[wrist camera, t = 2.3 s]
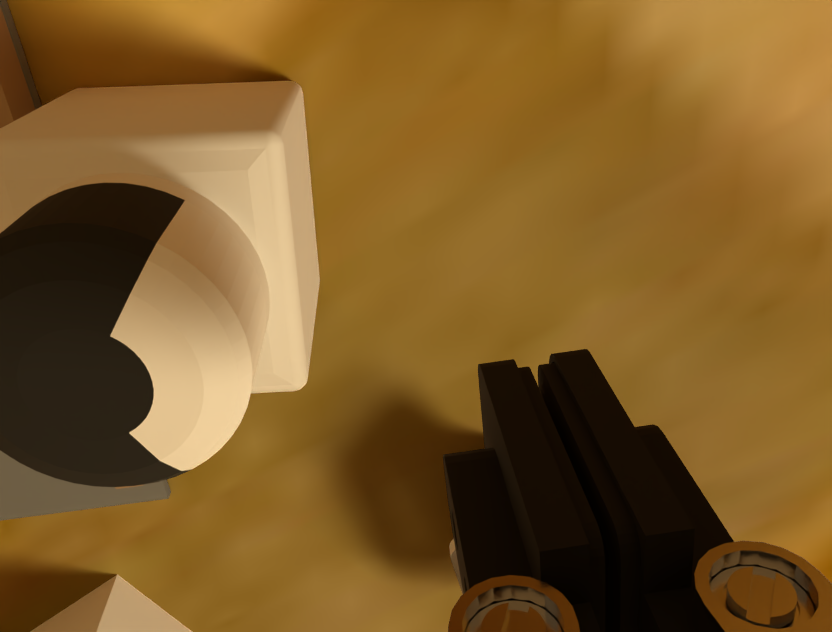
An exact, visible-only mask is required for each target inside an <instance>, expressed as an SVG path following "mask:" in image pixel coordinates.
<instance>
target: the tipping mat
mask: <svg viewBox="0 0 832 632" xmlns="http://www.w3.org/2000/svg"><path fill="white" fill-rule="evenodd" d="M41 106H42V105H41V102H40V99H39V96H38V93H37V90H36V87H35V84H34V81H33V78H32V75H31V72H30V69H29V66H28V63H27V60H26V57H25V54H24V51H23V48H22V45H21V42H20V39H19V36H18V33H17V30H16V27H15V24H14V21H13V18H12V15H11V12H10V9H9V6H8V3H7V0H0V128H2V127H4V126H6V125H8V124H10V123H12V122H13V121H15V120H17V119H19V118H21V117H23V116H25V115H27V114H28V113H30V112H32V111H34V110H36V109H38V108H40V107H41ZM170 493H171V491H170V488H169V485H168V482H167V479H166V480H163V481H159V482H155V483H149V484H143V485H137V486H125V487H97V486H88V485H82V484H75V483H71V482H67V481H64V480H60V479H56V478H53V477H50V476H48V475H45V474H42V473H40V472H37V471H35V470H33V469H31V468H29V467H27V466H25V465H23V464H21V463H19V462H17V461H16V460H14V459H13V458H11V457H10V456H8V455H6V454H5V453H3V452H2V451H1V450H0V520H7V519H15V518H22V517H30V516H38V515H45V514H53V513H61V512H68V511H76V510H84V509H92V508H99V507H107V506H115V505H122V504H130V503H138V502H145V501H153V500H161V499H168V498H169V496H170Z"/></svg>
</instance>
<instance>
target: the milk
mask: <svg viewBox="0 0 832 632" xmlns="http://www.w3.org/2000/svg"><path fill="white" fill-rule="evenodd" d="M30 632H192V631H191V630H189V629H188V628H187V627H185V626H184V625H183V624H181V623H180V622H179V621H178V620H176V619H175V618H174V617H172V616H171V615H170V614H168V613H167V612H166V611H164V610H163V609H162V608H161V607H159V606H158V605H157V604H155V603H154V602H153V601H151V600H150V599H149V598H147V597H146V596H145V595H144V594H142V593H141V592H140V591H138V590H137V589H136V588H134V587H133V586H132V585H130V584H129V583H128V582H127V581H125V580H124V579H123V578H121V577H120V576H119V575H116V576H114V577H113V578H111V579H110V580H108V581H107V582H105V583H104V584H102V585H101V586H99V587H97V588H96V589H94V590H93V591H91V592H90V593H88V594H87V595H85V596H84V597H82V598H81V599H79V600H78V601H76V602H75V603H73V604H72V605H70V606H68V607H67V608H65V609H64V610H62V611H61V612H59V613H58V614H56V615H55V616H53V617H52V618H50V619H49V620H47V621H46V622H44V623H42V624H41V625H39V626H38V627H36V628H35V629H33V630H32V631H30Z"/></svg>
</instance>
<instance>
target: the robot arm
mask: <svg viewBox="0 0 832 632" xmlns="http://www.w3.org/2000/svg"><path fill="white" fill-rule="evenodd" d="M478 377H479V388H480V400H481V411H482V422H483V434H484V445H485V449H480V450H473V451H466V452H459V453H452V454H445V455H443V461H444V470H445V479H446V487H447V495H448V503H449V511H450V518H451V524H452V531H453V537H454V543H455V549H456V555H457V560H458V566H459V571H460V577H461V583H462V588H463V595H462V596H461V597H460V598H459V600H458V602H457V603H456V605H455V606H454V608H453V609H452V612H451V617H450V621H449V626H448V632H832V584H831V583H830V582H829V581H828V580H827V579H826V577H825V576H824V575H823V574H822V573H821V572H820V571H819V570H817V569H816V568H815V567H814V566H812V565H811V564H810V563H809V562H807V561H806V560H805V559H804V558H802V557H800V556H798V555H796V554H794V553H792V552H790V551H788V550H786V549H784V548H781V547H778V546H774V545H770V544H767V543H763V542H752V541H738V542H734V541H733V540H732V538H731V536H730V535H729V533H728V532H727V530H726V529H725V527H724V526H723V524H722V523H721V521H720V520H719V518H718V516H717V515H716V513H715V512H714V510H713V509H712V507H711V506H710V504H709V503H708V501H707V500H706V498H705V496H704V495H703V493H702V492H701V490H700V489H699V487H698V486H697V484H696V483H695V481H694V480H693V478H692V476H691V475H690V473H689V472H688V470H687V469H686V467H685V466H684V464H683V463H682V461H681V460H680V458H679V456H678V455H677V453H676V452H675V450H674V449H673V447H672V446H671V444H670V443H669V441H668V440H667V438H666V436H665V435H664V433H663V432H662V431H661V430H660V428H659V427H658V426H655V425H647V426H640V427H634V425H633V424H632V422H631V420H630V419H629V417H628V415H627V414H626V412H625V410H624V409H623V407H622V405H621V404H620V402H619V400H618V399H617V397H616V395H615V394H614V392H613V390H612V389H611V387H610V385H609V384H608V382H607V380H606V379H605V377H604V375H603V374H602V372H601V370H600V369H599V367H598V365H597V364H596V362H595V360H594V359H593V357H592V355H591V354H590V352H589V351H588V350H587V349H583V350H576V351H569V352H562V353H555V354H551V355H550V359H549V364H543V365H539V366H538V385H537V383H536V381H535V379H534V376H533V374H532V372H531V369H530V368H529V367H522V368H518V367H517V365H516V362H515V361H514V360H513V359H512V360H505V361H498V362H491V363H484V364H479V365H478ZM538 387H539V388H538Z"/></svg>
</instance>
